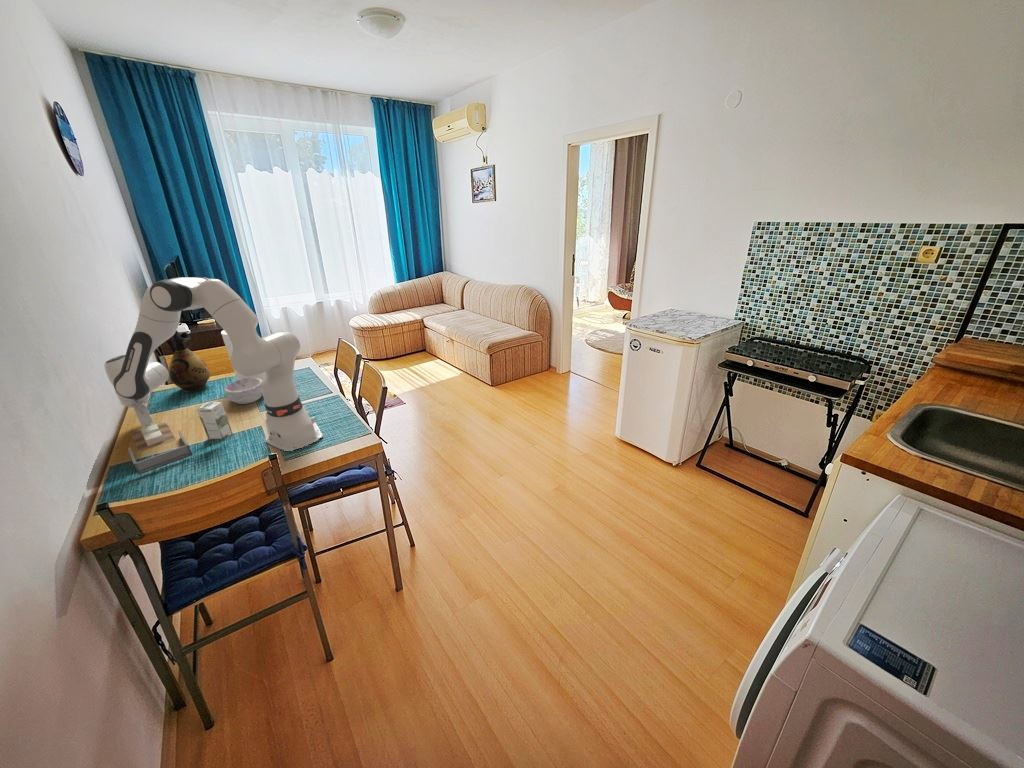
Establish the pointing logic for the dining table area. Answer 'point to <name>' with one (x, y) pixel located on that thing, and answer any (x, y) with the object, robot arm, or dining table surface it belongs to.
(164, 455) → the grey bin
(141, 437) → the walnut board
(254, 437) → the dining table surface
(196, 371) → the ceramic jug
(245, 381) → the white purple floral bowl
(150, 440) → the cream tile
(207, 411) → the syrup box
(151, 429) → the sage tile
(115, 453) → the dining table surface
